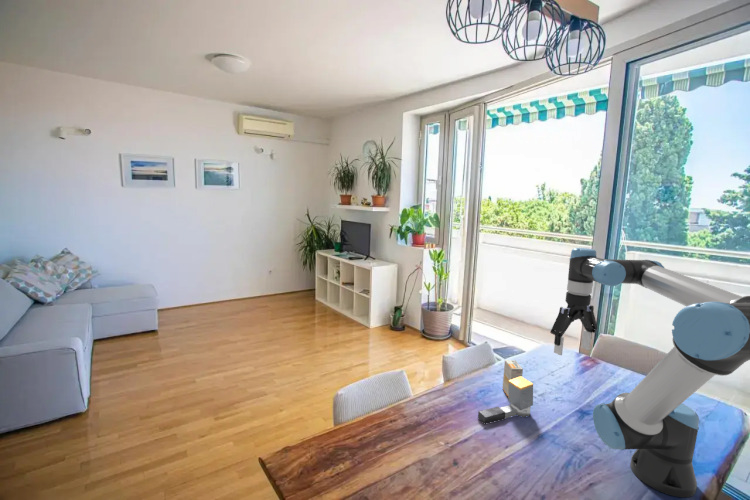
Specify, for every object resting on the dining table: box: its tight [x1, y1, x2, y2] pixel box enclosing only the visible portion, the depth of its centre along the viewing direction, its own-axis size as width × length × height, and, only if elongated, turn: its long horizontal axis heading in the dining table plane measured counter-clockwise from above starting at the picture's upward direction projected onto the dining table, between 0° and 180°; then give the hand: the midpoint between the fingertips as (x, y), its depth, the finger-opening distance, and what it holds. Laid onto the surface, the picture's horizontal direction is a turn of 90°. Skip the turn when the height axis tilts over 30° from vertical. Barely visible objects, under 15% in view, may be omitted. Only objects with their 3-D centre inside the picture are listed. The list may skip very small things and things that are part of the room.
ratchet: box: [477, 403, 532, 425], centre depth 133 cm, size 22×7×8 cm, turn 113°
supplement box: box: [502, 359, 524, 399], centre depth 148 cm, size 8×5×13 cm, turn 179°
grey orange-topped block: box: [508, 376, 534, 410], centre depth 135 cm, size 6×6×9 cm
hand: (571, 351), depth 128 cm, fingers open, 13 cm apart
